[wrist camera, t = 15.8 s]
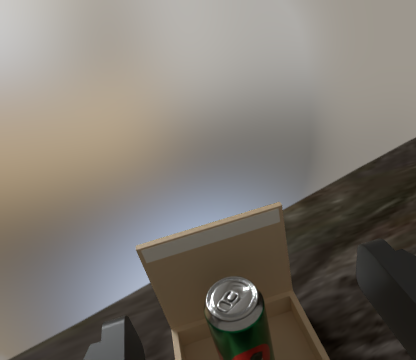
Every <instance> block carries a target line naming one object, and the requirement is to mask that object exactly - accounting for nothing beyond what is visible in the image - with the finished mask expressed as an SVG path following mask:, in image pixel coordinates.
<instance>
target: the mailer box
mask: <svg viewBox="0 0 416 360" xmlns="http://www.w3.org/2000/svg"><path fill="white" fill-rule="evenodd" d="M136 251H137V253H138V255H139V258H140V260H141V262H142V264H143V267H144V269H145V271H146V273H147V276H148V278H149V280H150V282H151V285H152V287H153V289H154V291H155V294H156V296H157V298H158V300H159V303H160V305H161V307H162V309H163V312H164V314H165V316H166V318H167V321H168V323H169V325H170V327H171V330H172V338H173V345H174V353H175V360H220V359H219V357H218V354H217V351H216V348H215V345H214V342H213V339H212V336H211V333H210V330H209V327H208V324H207V321H206V318H205V314H204V304H205V301H206V295H207V292H208V290H209V289H210V287H211V286H212V285H213V284H214V283H215V282H217V281H218V280H220V279H222V278H225V277H229V276H240V277H244V278H246V279H248V280H250V281H251V282H252V283H253V284H254V285H255V287H256V288H257V289H258V290H259V291H260V292H261V294H262V296H263V298H264V303H265V308H266V313H267V319H268V324H269V330H270V335H271V341H272V346H273V351H274V357H275V360H330V359H329V357H328V355H327V353H326V351H325V349H324V348H323V346H322V344H321V342H320V340H319V338H318V336H317V335H316V333H315V331H314V329H313V327H312V325H311V323H310V322H309V320H308V318H307V316H306V314H305V312H304V310H303V308H302V307H301V305H300V303H299V301H298V299H297V297H296V295H295V294H294V292H293V290H292V282H291V274H290V266H289V258H288V250H287V242H286V234H285V226H284V218H283V210H282V205H281V203H280V202H277V203H274V204H271V205H267V206H264V207H261V208H258V209H254V210H251V211H248V212H245V213H241V214H238V215H235V216H232V217H228V218H225V219H222V220H218V221H215V222H212V223H209V224H206V225H202V226H199V227H196V228H192V229H189V230H186V231H183V232H180V233H176V234H173V235H170V236H166V237H163V238H160V239H156V240H153V241H150V242H147V243H143V244H140V245H137V246H136Z"/></svg>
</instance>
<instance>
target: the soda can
mask: <svg viewBox="0 0 416 360" xmlns="http://www.w3.org/2000/svg"><path fill="white" fill-rule="evenodd" d="M204 314H205V318H206V321H207V324H208V327H209V330H210V333H211V336H212V339H213V342H214V345H215V348H216V351H217V354H218V357H219V359H220V360H275V357H274V351H273V346H272V341H271V335H270V330H269V324H268V319H267V313H266V308H265V303H264V298H263V296H262V294H261V292H260V291H259V290H258V289H257V288H256V287H255V285H254V284H253V283H252V282H251V281H250V280H248V279H246V278H244V277H240V276H229V277H225V278H222V279H220V280H218V281H217V282H215V283H214V284H213V285H212V286H211V287H210V289H209V290H208V292H207V295H206V301H205V304H204Z"/></svg>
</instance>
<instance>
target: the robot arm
mask: <svg viewBox="0 0 416 360" xmlns="http://www.w3.org/2000/svg"><path fill="white" fill-rule="evenodd" d="M356 278H357V281H358V284H359V286H360V288H361V290H362V292H363V293H364V295H365V296H366V297H367V299H368V300H369V301H370V303H371V304H372V305H373V307H374V308H375V309H376V311H377V312H378V313H379V315H380V316H381V317H382V319H383V320H384V321H385V323H386V324H387V325H388V327H389V328H390V329H391V331H392V332H393V333H394V335H395V336H396V337H397V339H398V340H399V341H400V343H401V344H402V345H403V347H404V348H405V349H406V351H407V352H408V353H409V355H410V356H411V357H412V359H413V360H416V256H415V255H413V254H411V253H409V252H407V251H405V250H403V249H400V250H397V251H395V250H394V249H393V248H392V247H391V246H390V245H389V244H388V243H387V242H386V241H385V240H383V239H376V240H373V241H370V242H366V243H363V244H360V245H359V246H358V248H357V266H356ZM84 360H145V354H144V349H143V346H142V343H141V340H140V338H139V336H138V335H137V333H136V331H135V329H134V327H133V325H132V323H131V321H130V319H129V317H128V316H123V317H119V318H116V319H113V320H110V321H106V322H104V323H103V326H102V337H101V342H98V343H95V344H92V345H90V347H89V349H88V351H87V353H86V355H85V357H84Z"/></svg>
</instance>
